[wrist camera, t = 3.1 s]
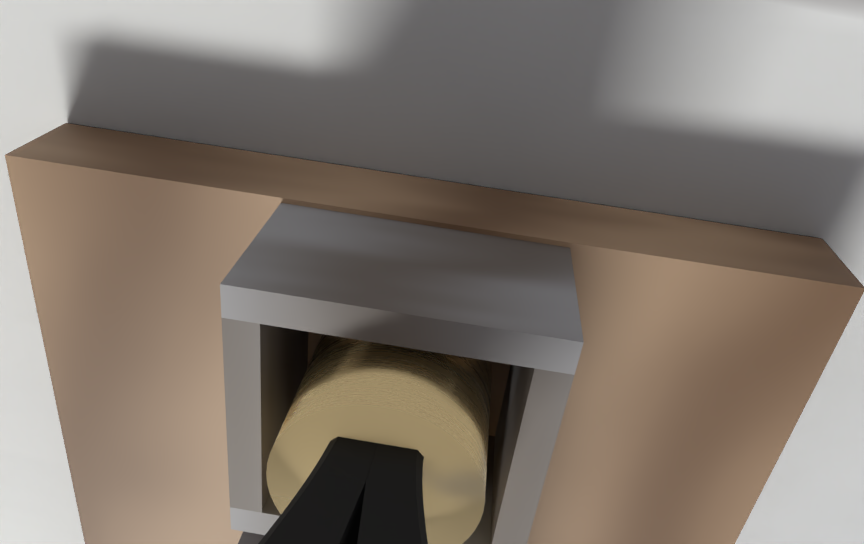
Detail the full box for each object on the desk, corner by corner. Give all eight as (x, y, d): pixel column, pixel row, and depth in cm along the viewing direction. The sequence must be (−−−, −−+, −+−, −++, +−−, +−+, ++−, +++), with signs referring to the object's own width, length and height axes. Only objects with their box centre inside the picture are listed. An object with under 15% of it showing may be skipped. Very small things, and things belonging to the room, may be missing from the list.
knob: (505, 312, 12) (502, 428, 10) (477, 451, 14) (467, 580, 11) (318, 283, 12) (266, 388, 10) (313, 424, 14) (266, 546, 11)
